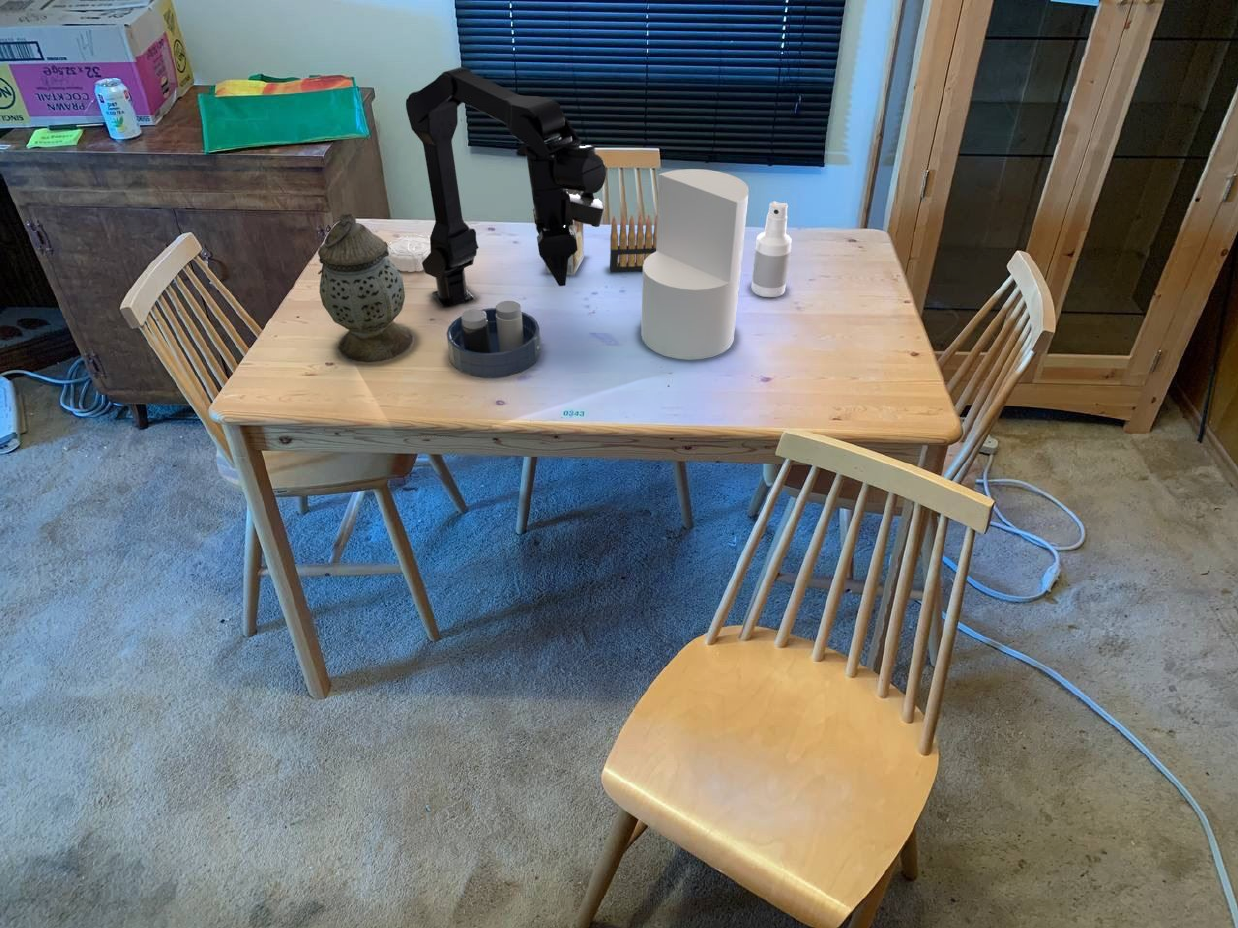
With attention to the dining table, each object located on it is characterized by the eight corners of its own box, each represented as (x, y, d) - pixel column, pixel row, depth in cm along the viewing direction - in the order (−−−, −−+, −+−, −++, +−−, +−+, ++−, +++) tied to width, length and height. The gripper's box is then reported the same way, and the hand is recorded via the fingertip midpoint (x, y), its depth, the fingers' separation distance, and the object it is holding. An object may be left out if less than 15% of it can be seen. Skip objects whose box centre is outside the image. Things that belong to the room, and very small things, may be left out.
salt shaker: (495, 345, 154) (490, 304, 149) (518, 339, 156) (514, 297, 151) (505, 357, 151) (501, 315, 146) (528, 350, 153) (525, 308, 148)
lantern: (390, 370, 148) (363, 235, 133) (319, 358, 152) (284, 224, 136) (427, 331, 159) (406, 202, 143) (360, 320, 162) (332, 192, 146)
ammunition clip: (659, 267, 180) (661, 212, 173) (660, 271, 179) (662, 216, 171) (609, 268, 179) (609, 214, 172) (610, 272, 178) (610, 218, 170)
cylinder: (684, 303, 168) (692, 161, 150) (753, 335, 158) (770, 188, 141) (622, 334, 158) (622, 187, 141) (691, 370, 149) (701, 217, 131)
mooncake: (376, 268, 179) (373, 252, 177) (403, 245, 188) (401, 229, 186) (427, 275, 177) (425, 260, 174) (453, 252, 186) (451, 236, 183)
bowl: (437, 345, 155) (433, 321, 152) (518, 324, 161) (516, 300, 158) (470, 389, 144) (467, 364, 141) (555, 364, 150) (554, 339, 147)
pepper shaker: (462, 354, 152) (456, 312, 147) (485, 348, 154) (481, 306, 148) (471, 366, 149) (466, 324, 143) (495, 360, 151) (491, 317, 145)
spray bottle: (747, 294, 171) (756, 208, 159) (755, 280, 176) (765, 195, 164) (780, 300, 169) (792, 213, 157) (788, 285, 174) (800, 200, 162)
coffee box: (556, 254, 185) (552, 182, 174) (584, 257, 184) (583, 184, 173) (545, 273, 178) (540, 199, 167) (574, 276, 177) (572, 201, 166)
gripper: (603, 196, 131) (613, 290, 139) (591, 163, 146) (600, 250, 155) (532, 205, 130) (545, 299, 139) (527, 171, 145) (540, 258, 154)
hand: (560, 275), depth 147 cm, fingers open, 9 cm apart
